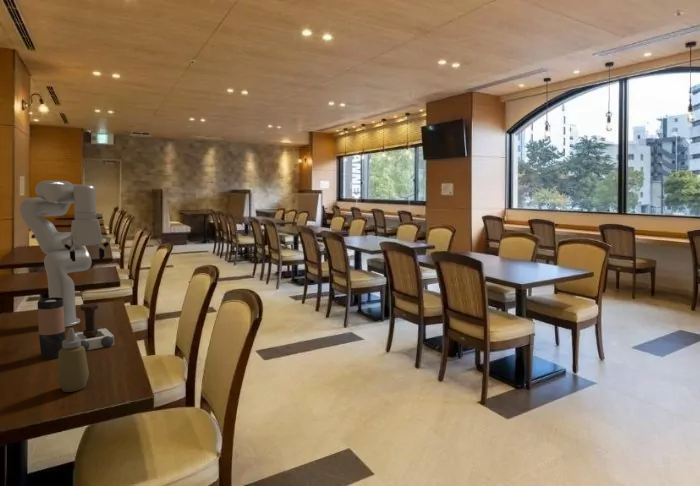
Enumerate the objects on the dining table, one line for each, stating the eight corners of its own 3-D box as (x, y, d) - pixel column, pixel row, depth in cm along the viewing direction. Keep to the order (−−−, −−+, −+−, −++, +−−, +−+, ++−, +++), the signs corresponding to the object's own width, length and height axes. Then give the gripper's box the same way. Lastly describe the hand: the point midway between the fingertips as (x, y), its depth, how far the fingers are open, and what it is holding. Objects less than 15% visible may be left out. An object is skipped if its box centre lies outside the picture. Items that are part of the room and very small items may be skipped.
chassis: (67, 342, 177) (67, 332, 177) (105, 336, 185) (105, 326, 185) (75, 353, 166) (74, 342, 165) (115, 345, 174) (114, 335, 174)
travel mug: (71, 353, 165) (68, 298, 163) (51, 361, 158) (48, 303, 156) (55, 351, 168) (52, 296, 166) (35, 358, 160) (31, 301, 158)
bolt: (90, 347, 172) (89, 307, 171) (79, 346, 174) (77, 306, 172) (102, 342, 178) (100, 303, 176) (91, 341, 179) (89, 302, 178)
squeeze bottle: (66, 383, 140) (63, 324, 138) (94, 382, 141) (91, 324, 139) (51, 394, 132) (48, 332, 130) (81, 394, 133) (78, 332, 131)
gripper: (107, 215, 190) (109, 257, 192) (58, 216, 179) (60, 260, 181) (112, 216, 185) (113, 259, 187) (61, 217, 174) (63, 263, 176)
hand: (87, 260), depth 184 cm, fingers open, 9 cm apart
